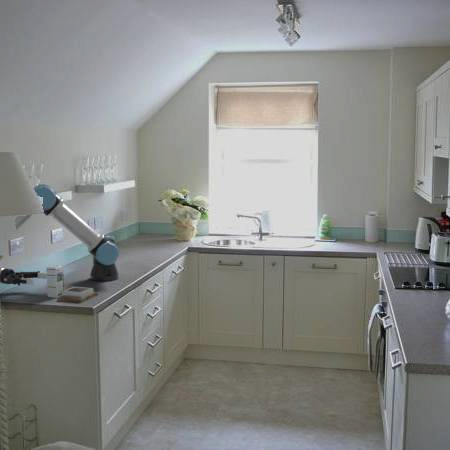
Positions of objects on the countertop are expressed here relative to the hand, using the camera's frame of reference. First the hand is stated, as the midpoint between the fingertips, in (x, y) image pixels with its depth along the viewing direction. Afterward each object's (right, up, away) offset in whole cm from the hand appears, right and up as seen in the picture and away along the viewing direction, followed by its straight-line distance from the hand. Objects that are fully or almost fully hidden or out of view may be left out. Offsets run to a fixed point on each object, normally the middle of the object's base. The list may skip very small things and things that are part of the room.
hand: (41, 279), depth 305 cm
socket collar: (+19, -7, -5) cm, 20 cm away
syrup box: (+7, -8, -1) cm, 11 cm away
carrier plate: (+19, -9, -5) cm, 21 cm away
